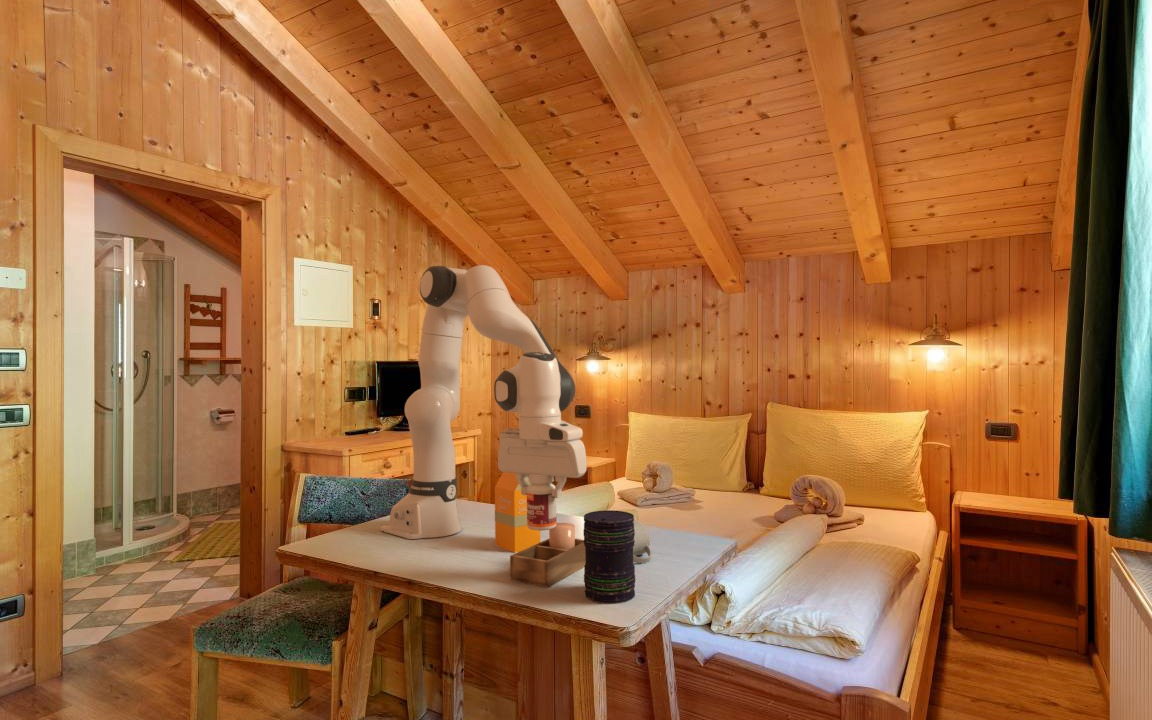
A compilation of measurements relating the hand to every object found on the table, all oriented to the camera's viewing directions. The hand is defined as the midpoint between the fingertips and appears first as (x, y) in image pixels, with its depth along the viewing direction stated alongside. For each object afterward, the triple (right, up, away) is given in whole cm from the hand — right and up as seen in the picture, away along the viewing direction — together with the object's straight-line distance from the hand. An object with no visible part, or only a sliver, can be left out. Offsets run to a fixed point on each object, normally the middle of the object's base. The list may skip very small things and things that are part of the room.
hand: (541, 496), depth 130 cm
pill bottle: (0, -7, 0) cm, 7 cm away
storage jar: (+14, -17, -11) cm, 24 cm away
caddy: (+2, -17, +3) cm, 17 cm away
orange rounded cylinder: (+4, -16, +7) cm, 18 cm away
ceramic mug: (+20, -17, +13) cm, 29 cm away
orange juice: (-7, -18, +23) cm, 30 cm away
